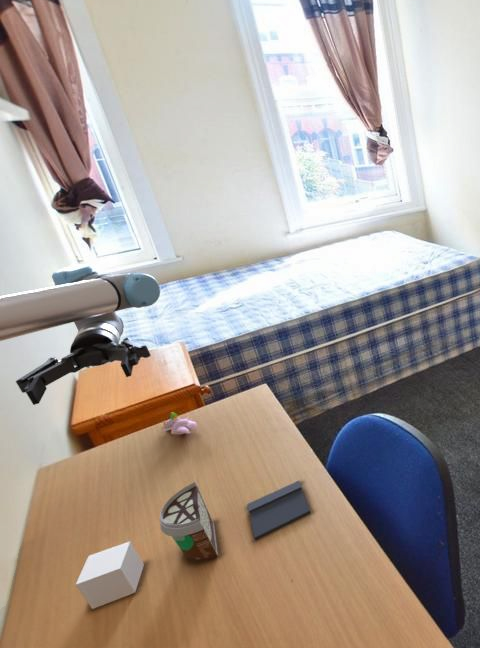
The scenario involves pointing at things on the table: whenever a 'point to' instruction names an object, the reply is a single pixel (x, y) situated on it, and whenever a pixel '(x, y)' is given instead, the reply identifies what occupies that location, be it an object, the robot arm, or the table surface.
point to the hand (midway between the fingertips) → (80, 383)
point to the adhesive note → (110, 575)
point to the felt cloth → (277, 509)
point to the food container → (190, 524)
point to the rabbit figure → (179, 425)
